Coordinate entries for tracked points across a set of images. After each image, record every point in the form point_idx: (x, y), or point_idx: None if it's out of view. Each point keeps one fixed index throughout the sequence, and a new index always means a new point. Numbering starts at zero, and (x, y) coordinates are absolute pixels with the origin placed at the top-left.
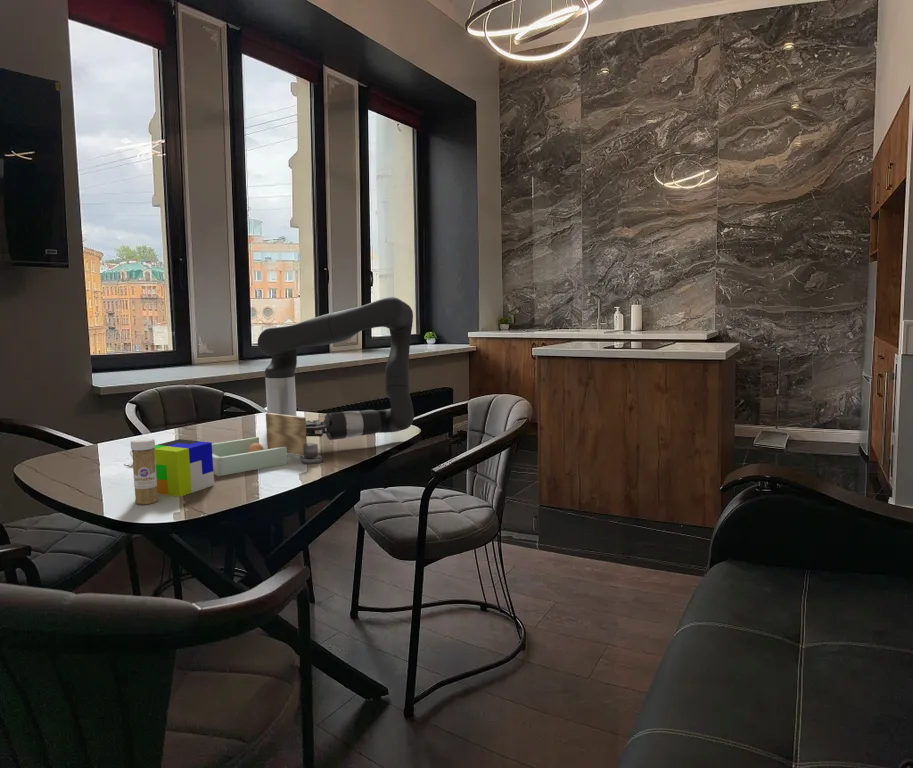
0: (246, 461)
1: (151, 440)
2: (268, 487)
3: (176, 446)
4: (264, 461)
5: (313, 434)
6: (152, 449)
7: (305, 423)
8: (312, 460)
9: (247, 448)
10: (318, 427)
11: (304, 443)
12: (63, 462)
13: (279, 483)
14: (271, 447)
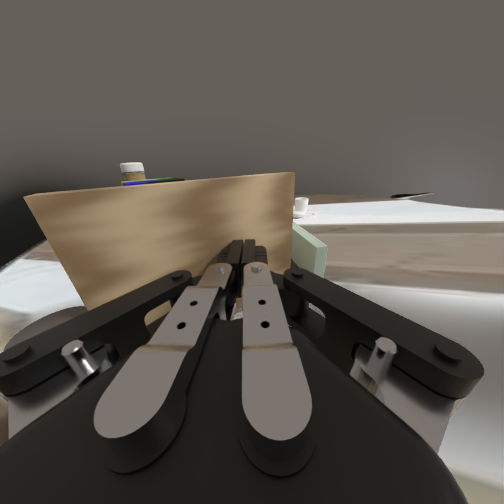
0: None
1: (120, 164)
2: (45, 268)
3: (146, 180)
4: None
5: (107, 348)
6: (124, 173)
7: (45, 233)
8: None
9: (300, 255)
10: (27, 343)
11: None
12: (322, 198)
13: (37, 280)
14: None
